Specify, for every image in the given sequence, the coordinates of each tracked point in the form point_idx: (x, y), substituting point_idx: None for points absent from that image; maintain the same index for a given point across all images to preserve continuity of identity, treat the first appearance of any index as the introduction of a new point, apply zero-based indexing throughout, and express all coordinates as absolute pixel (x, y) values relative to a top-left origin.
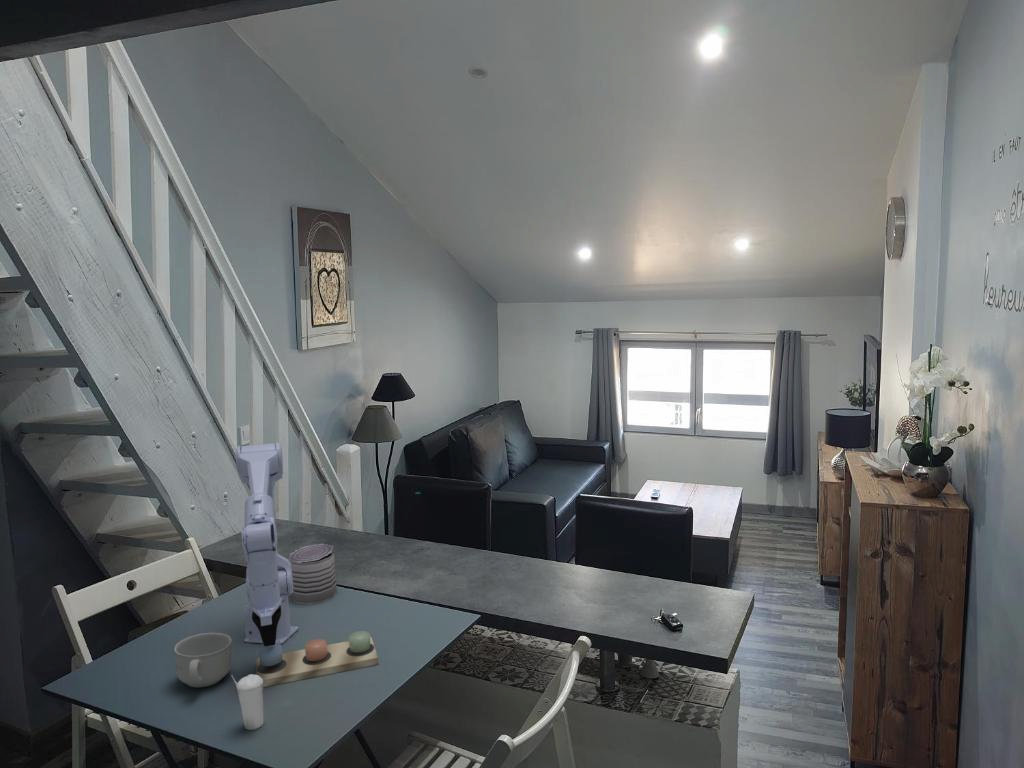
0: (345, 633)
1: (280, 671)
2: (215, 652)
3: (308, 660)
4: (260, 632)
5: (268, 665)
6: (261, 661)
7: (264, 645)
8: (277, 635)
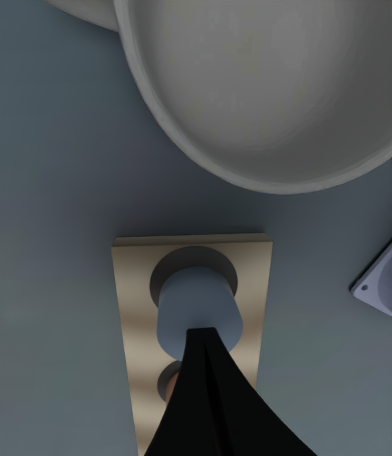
0: (317, 409)
1: (150, 309)
2: (146, 100)
3: (176, 374)
4: (171, 397)
5: (160, 293)
6: (175, 279)
7: (187, 332)
8: (388, 292)
